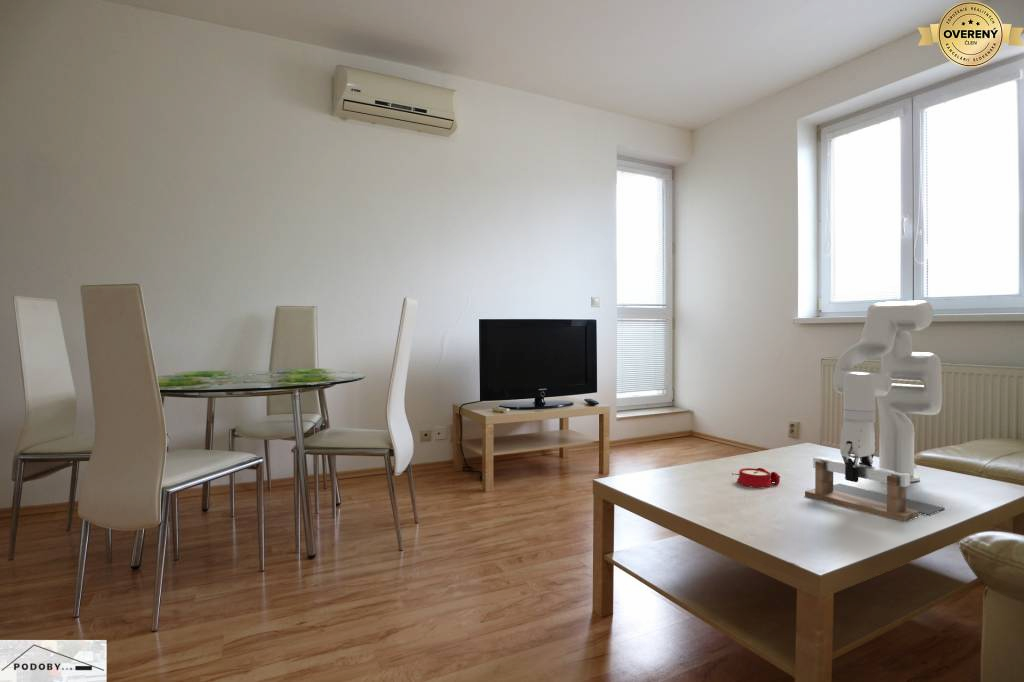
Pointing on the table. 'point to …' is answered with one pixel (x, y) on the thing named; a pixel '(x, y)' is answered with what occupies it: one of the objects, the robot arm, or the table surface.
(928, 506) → the rubber mat
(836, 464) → the steel rail
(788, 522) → the table surface
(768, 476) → the alarm clock
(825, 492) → the walnut rail stand
